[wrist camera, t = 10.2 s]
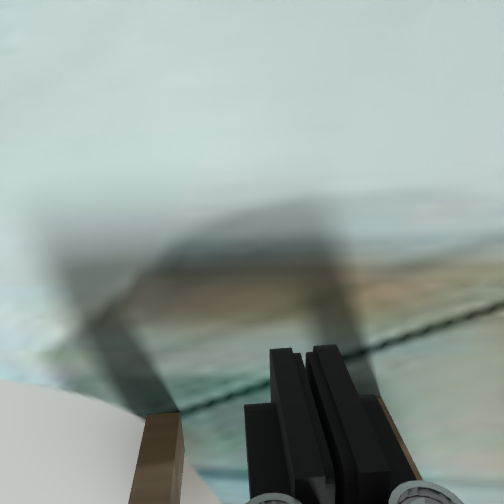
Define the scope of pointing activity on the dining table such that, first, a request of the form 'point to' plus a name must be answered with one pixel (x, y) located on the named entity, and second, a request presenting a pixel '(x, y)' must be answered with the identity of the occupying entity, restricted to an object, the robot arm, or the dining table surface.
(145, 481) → the bridge
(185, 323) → the dining table surface
